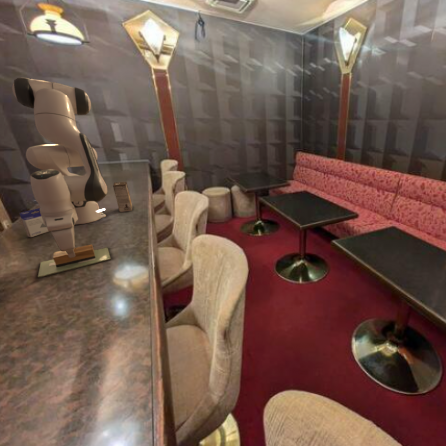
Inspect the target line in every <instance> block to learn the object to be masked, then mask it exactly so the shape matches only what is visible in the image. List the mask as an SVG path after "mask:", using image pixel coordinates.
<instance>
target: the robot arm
mask: <svg viewBox="0 0 446 446" xmlns="http://www.w3.org/2000/svg"><path fill="white" fill-rule="evenodd" d="M11 90H12V95H13V96H14V97H15V99H16V100H17V103H19V104H20V105H22V106H24V107H26V108H30V109H33V118H34V124H35V128H36V130H37V132H38V134H39V135H40V136H41V137H43V138H44V139H45V140H46V141H49V142H51V143H52V144H51V143H50V144H38V145H33V146H29V147H28V148H27V149H26V152H25V158H26V160H27V162H28V163H29V164H30V165H31V166H33V167H34V168H36V169H39V170H38V171H35V172H32V173H31V174H30V176H29V180H30V186H31V190H32V194H33V197H34V200H35V201H36V203H37V204H38V206H39V208H40V213H41V216H42V219H43V221H44V224H45V225H46V226H47V229H48V231H49V232H50V233H51V235H52V238H53V239H54V241H55V243H56V245H57V247H58V249H59V251H66V253H67V254H68V257H69V258H72V257H75V252H74V248H76V243H75V225H83V224H88V223H92V222H96V221H99V220H100V219H104V218H105V217H107V215H106V214H105V213H103V211H106V208H105V207H104V208H100V207H99V204H98V202H101V201H102V200H103V199H104V198H106V196H107V195H108V186H107V184H106V182H105V180H104V177H103V174H102V172H101V169H100V166H99V162H98V152H97V150H96V149H95V148H94V147H93V145H92V143H91V142H90V140H89V138H88V136H87V135H86V134H84V133H82V132H81V131H80V130H79V128H78V126H77V122H76V115H78V116H85V115H88V114H89V113H90V110H91V109H92V102H91V98H90V97H89V95H88V93H87V92H86V91H85V90H84V89H81V88H79V87H76V86H73V87H72V86H69V85H66V84H63V83H58V82H55V81H46V80H41V79H33V78H31V79H30V78H29V77H16V78H15V79H14V80H13V84H12V86H11ZM76 167H83V168H84V171H85V173H84V174H83V175H81V174H77V173H73V172H70V171H69V170H68V168H76Z"/></svg>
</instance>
